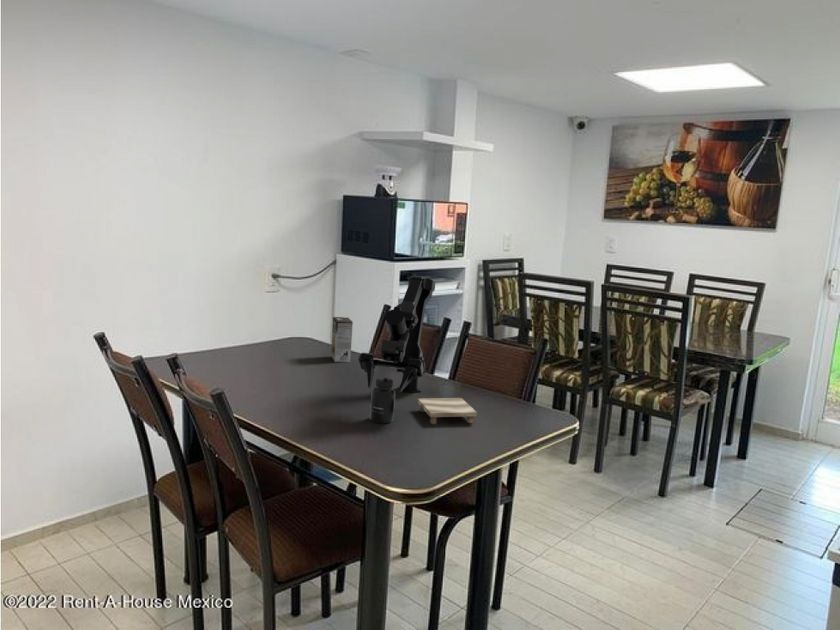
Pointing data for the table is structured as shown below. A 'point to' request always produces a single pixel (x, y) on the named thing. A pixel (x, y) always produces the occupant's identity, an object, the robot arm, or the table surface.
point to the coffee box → (341, 339)
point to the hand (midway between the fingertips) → (384, 389)
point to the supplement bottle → (382, 401)
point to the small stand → (446, 408)
